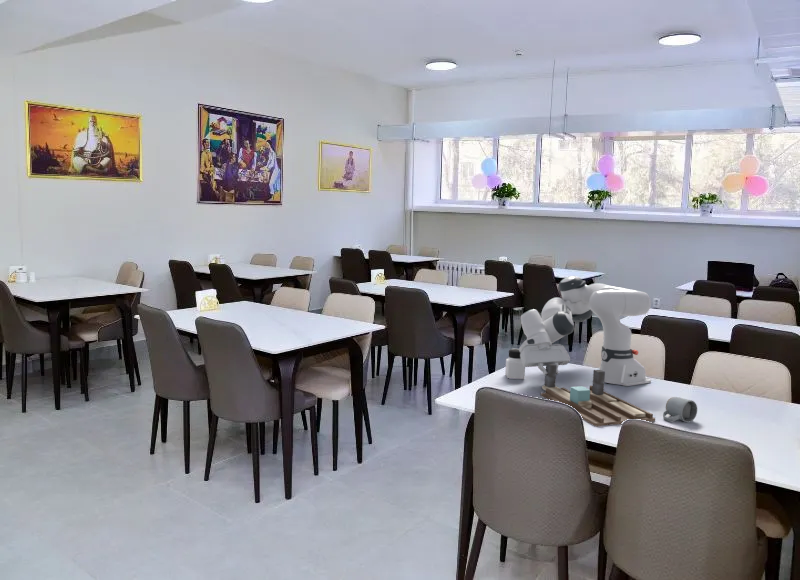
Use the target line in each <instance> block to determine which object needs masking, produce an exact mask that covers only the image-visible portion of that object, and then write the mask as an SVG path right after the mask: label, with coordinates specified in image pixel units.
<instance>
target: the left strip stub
mask: <svg viewBox="0 0 800 580" xmlns="http://www.w3.org/2000/svg"><path fill="white" fill-rule="evenodd" d="M592 371H593V374H592V385H591V386H592V393H591V394H593V395H596V396H598V397H600V398H602V399H604V400H606V401H608V402H617V400H616V399H614V398H612V397H610V396H608V395H606V394H604V391H605V382H604V379H605V371H603V370H600V369H593V370H592Z"/></svg>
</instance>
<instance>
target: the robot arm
mask: <svg viewBox="0 0 800 580" xmlns="http://www.w3.org/2000/svg"><path fill="white" fill-rule="evenodd" d="M586 282H587V281H586V280H583V279H582V278H580V277H578V276H575V275H572V276H571V275H570V276H566V277H564V278H562V279H561V280H560V282H558V289H559V291H560V294H561V297H553V298H551V299H549V300H548V301H547V302H545V304H544V306H543V308H542V309H541V310H542V311H541V313H539V311H538V310H537V309H534V308H533V309H529V310H527V311H525V312H523V313H522V314H521V316H520V323H521V327H522V330H523V333H524V335H525V336H526V340H524V341H523V343H521V345H520V346H519V348H518V349H519V351H520V353H521V354H520V358H521V361H522V364H523V366H525V368H532V367H536V368H538V369H539V370H540V371H541V372H542V374H543V376H545V375H548V374H549V372H548V369H546V363H554V364H556V365H557V368H556V376H557V375H559V366H567V365H568V364H569V362H570V361H571V357H570V355H569V352H568V351H567V349H566V348H565V346H564V345H563V344H561V343H555V342H557V341H558V340H560V339H561V338H564V337H565V336H568V335H570V334H572V333H573V332H574V330H575V323H581V322H585V321H586V320H588V319H591V317H592V315H593V314H595V315H596V316H597V317H598V319H599V320H600V323H601V325H602V332H603V342H602V344H603V345H602V346H601V351H600V352H601V363H600V366H599V370H603V371H605V379H604V383H608V384H612V385H621V386H624V387H625V386H626V387H629V386H637V385H643V384H651V383H652V380H651V378H649V377H647V375H646V368H645V366H644V365H642V363H640V362H639V361H638V360H637V359H636V358H635V357H634V356H638V355H639V350H636V349H632V348H631V346H632V345H631V344H632V331H631V329H630V328H629V327H628V326H627V325H626V324H623V323H621V318H620V317H638V316H642V315H646V314H648V313H649V311H650V309H651V307H652V300H651V297H650V296H649V294H648V293H647V292H645V291H640V290H635V289H631V288H630V289H629V288H626V287H625V288H624V287H618V286H613V285H608V284H605V283H599V282H596V283H595V282H594V283H591V284H589V285H587V284H586ZM574 322H575V323H574Z"/></svg>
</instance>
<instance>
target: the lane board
mask: <svg viewBox="0 0 800 580" xmlns="http://www.w3.org/2000/svg"><path fill="white" fill-rule="evenodd" d="M560 389H562V390H564V391H566V392H568V393H570V390H569V389H567V388H565V387H560ZM588 389H589V390H590V400H589V401H592V407H591V408H584V407H582V406H580V405H578V404H576V403H574V402H573V401H571V400H569V399H567V398H565V397H563V396H561V395H559V394H558V393H556V392H554V391H552V390H550V389H546V390H545V392H540V396H541V397H542V398H544V399H546V400H548V399H550V400H554V401H559V402H562V403H565V404H568V405H570V406H572V407H573V408H575V409H576V410H577V411H578V412H579V413H580V414H581V416H582V418H583V419H582V420H583V421H585V422H587V423H589V424H590V425H591V426H594V427H604V426H615V425H616V426H617V425H622V424H621V423H622V422H623V421H625V420H627V419H641V420H646V421H650V422H656V418H655V417H654V414H653V413H651V412H650V411H647V410H645V409H643V408H641V407H639V406H636V405H634V404H632V403H631V402H628V401H627V400H624V399H621V398H619V397H618V396H615V395H614V394H612V393H609V392H607V391H605V390H604V394H606V395H608V396H610V397H612V398H614V399H616V400H617V402H619V401H621V402H623V403H625V404H627V405H629V406H631V407H633V408H635V409H638V410H640V411H642V412H644V413H646V416H645V417H636V415H634V414H632V413H630V412H628V411H626V410H624V409H622V408H620V407H618V406H616V405H614V404H612V403H610V402H608V401H606V400H604V399H602V398H600V397H598V396H596V395H593V394H591V393H592V385H589V388H588ZM550 400H549V401H550Z"/></svg>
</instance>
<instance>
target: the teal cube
mask: <svg viewBox="0 0 800 580" xmlns="http://www.w3.org/2000/svg"><path fill="white" fill-rule="evenodd" d="M569 388H570V390H569V391H570V400H571V401H573V402H574V403H576V404H578V401H589V400H590V390H589V389H590V388H587V387H585V386H582V385H580V386H570V387H569Z"/></svg>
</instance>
